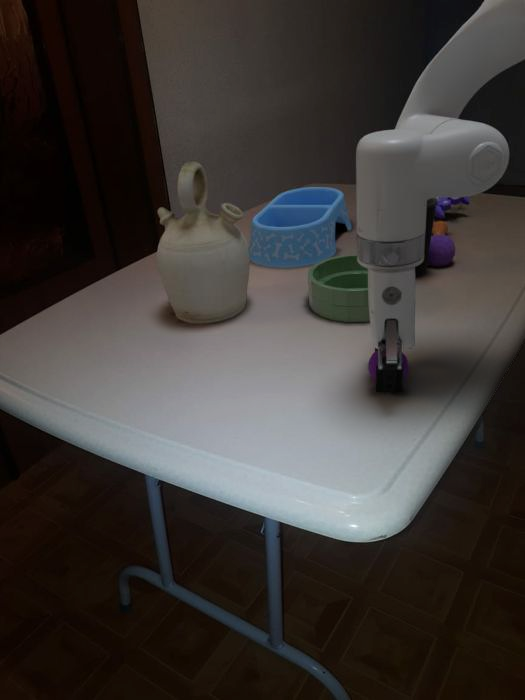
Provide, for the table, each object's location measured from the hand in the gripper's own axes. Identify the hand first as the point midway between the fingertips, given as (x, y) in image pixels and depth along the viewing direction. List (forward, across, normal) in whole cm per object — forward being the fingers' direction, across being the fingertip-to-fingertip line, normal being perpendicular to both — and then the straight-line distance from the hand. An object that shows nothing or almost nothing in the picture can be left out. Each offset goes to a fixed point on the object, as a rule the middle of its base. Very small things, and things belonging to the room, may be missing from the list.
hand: (387, 379), depth 72 cm
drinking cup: (+1, +36, -6) cm, 36 cm away
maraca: (+1, +47, -12) cm, 48 cm away
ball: (-2, 0, 0) cm, 2 cm away
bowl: (+1, +24, +4) cm, 24 cm away
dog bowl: (+1, +57, +16) cm, 59 cm away
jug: (+1, +23, +29) cm, 37 cm away
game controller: (+1, +71, -16) cm, 73 cm away
